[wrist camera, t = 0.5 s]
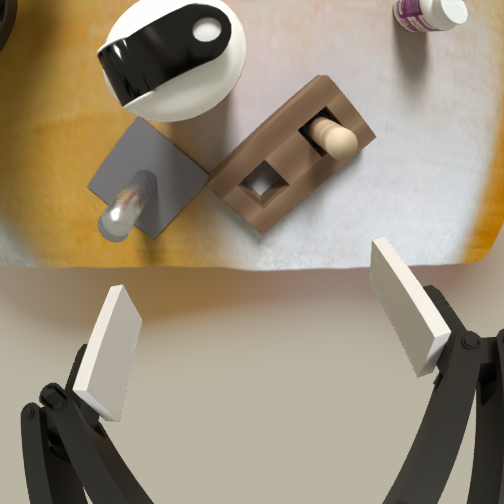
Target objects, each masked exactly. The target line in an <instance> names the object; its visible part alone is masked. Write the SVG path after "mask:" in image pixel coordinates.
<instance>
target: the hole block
mask: <svg viewBox="0 0 504 504" xmlns="http://www.w3.org/2000/svg"><path fill="white" fill-rule="evenodd" d="M322 109H323V110H324V111H325V112H326V114H327V115H328V116H329V117H330V118H331V120H332V121H333V122H335V123H337V124H339V125H341V126H342V127H344V128H346V129H348V130H350V131H351V132H353V133H354V134H355V136H356V138H357V142H358V146H357V150H356V152H355V154H354V155H353V156H352V157H354V156H355V155H356V154H357V153H358V152H359V151H361V150H362V149H363V148H364V147H365V146H367V145H368V144H369V143H370V142H371V141H372V140H374V139H375V138H376V136H375V134H374V133H373V132H372V130H371V129H370V127H369V126H368V125H367V123H366V122H365V121H364V119H363V118H362V117H361V115H360V114H359V113H358V111H357V110H356V109H355V108H354V106H353V105H352V104H351V103H350V101H349V100H348V99H347V98H346V96H345V95H344V94H343V93H342V91H341V90H340V89H339V88H338V87H337V86H336V84H335V83H334V82H333V81H332V80H331V79H330V77H329V76H327V75H318V76H316V77H315V78H314V79H313V80H311V81H310V82H309V83H308V84H307V85H305V86H304V87H303V88H302V89H301V90H300V91H298V92H297V93H296V94H295V95H294V96H292V97H291V98H290V99H289V100H288V101H287V102H286V103H284V104H283V105H282V106H281V107H280V108H279V109H278V110H276V111H275V112H274V113H273V114H272V115H271V116H270V117H269V118H268V119H266V120H265V121H264V122H263V123H262V124H261V125H260V126H259V127H258V128H257V129H256V130H254V131H253V132H252V133H251V134H250V135H249V136H248V137H247V138H246V139H245V140H244V141H243V142H242V143H241V144H240V145H239V146H238V147H236V148H235V149H234V150H233V151H232V152H231V153H230V154H229V155H228V156H227V157H226V158H225V159H224V160H223V161H222V162H221V163H220V164H219V165H218V166H217V167H216V168H215V169H214V170H213V171H212V172H211V173H210V174H209V177H208V181H207V187H208V188H209V189H210V190H212V191H213V192H214V193H215V194H216V195H217V196H219V197H220V198H221V199H222V200H223V201H224V202H225V203H227V204H228V205H229V206H230V207H231V208H232V209H234V210H235V211H236V212H237V213H238V214H239V215H240V216H242V217H243V218H244V219H245V220H246V221H247V222H248V223H250V224H251V225H252V226H253V227H254V228H255V229H256V230H258V231H259V232H260V233H261V234H264V233H265V232H266V231H267V230H268V229H269V228H271V227H272V226H273V225H274V224H275V223H276V222H277V221H279V220H280V219H281V218H282V217H283V216H284V215H286V214H287V213H288V212H289V211H290V210H291V209H293V208H294V207H295V206H296V205H297V204H298V203H300V202H301V201H302V200H303V199H304V198H305V197H307V196H308V195H309V194H310V193H311V192H312V191H314V190H315V189H316V188H317V187H318V186H320V185H321V184H322V183H323V182H324V181H325V180H327V179H328V178H329V177H330V176H331V175H332V174H334V173H335V172H336V171H337V170H338V169H339V168H341V167H342V166H343V165H344V164H345V163H347V162H348V161H349V160H350V159H351V158H352V157H350V158H349V159H346V160H338V159H335V158H333V157H332V156H331V155H330V154H329V153H328V152H326V151H325V150H324V149H323V148H322V147H321V146H320V145H317V146H316V147H315V148H313V147H312V146H311V145H310V143H309V142H308V141H307V140H306V139H305V138H304V137H303V136H302V135H301V134H300V133H299V131H298V129H299V128H301V127H302V126H303V125H304V124H305V123H306V122H308V121H309V120H310V119H311V118H312V117H313V116H315V115H316V114H317V113H318V112H319V111H320V110H322ZM264 160H265V161H267V162H268V163H269V164H270V165H271V166H272V167H273V168H274V169H275V170H276V171H277V172H278V173H279V174H280V175H281V176H282V177H281V178H280V179H278V180H277V181H276V182H275V183H274V184H273V185H272V186H271V187H269V188H268V189H267V190H266V191H265V192H264V193H263V194H262V195H261V196H260V195H259V194H258V193H257V192H256V191H254V190H253V189H252V188H251V187H250V186H249V185H248V184H247V183H246V182H245V181H244V180H243V179H244V178H245V177H246V176H247V175H249V174H250V173H251V172H252V171H253V170H254V169H255V168H256V167H257V166H258V165H259V164H260V163H262V162H263V161H264Z"/></svg>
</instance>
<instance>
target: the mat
mask: <svg viewBox="0 0 504 504" xmlns="http://www.w3.org/2000/svg"><path fill="white" fill-rule="evenodd" d="M140 170H149V171H151V172H152V173H153V174H154V175H155V176H156V178H157V186H156V188H155V190H154V191H153V193H152V195H151V196H150V198H149V200H148V201H147V203H146V205H145V206H144V208H143V210H142V211H141V213H140V215H139V217H138V218H137V220H136V222H135V224H134V225H135V226H136V227H138V228H139V229H140V230H142V231H143V232H144V233H146V234H147V235H148V236H149V237H151V238H152V239H153V240H154V239H155V238H156V237H157V236H158V234H159V233H160V232H161V231H162V230H163V229H164V228H165V227H166V226H167V225H168V223H169V222H170V221H171V220H172V219H173V218H174V217H175V216H176V215H177V214H178V213H179V212H180V211H181V210H182V208H183V207H184V206H185V205H186V204H187V203H188V202H189V201H190V200H191V199H192V198H193V197H194V196H195V195H196V194H197V193H198V192H199V191H200V190H201V189H202V188H203V187H204V186H205V185H206V184H207V181H208V177H209V174H208V173H206V172H205V171H204V170H203V169H202V168H201V167H200V166H198V165H197V164H196V163H195V162H194V161H193V160H191V159H190V158H189V157H188V156H187V155H186V154H184V153H183V152H182V151H181V150H180V149H179V148H177V147H176V146H175V145H174V144H173V143H172V142H170V141H169V140H168V139H167V138H166V137H165V136H163V135H162V134H161V133H160V132H159V131H157V130H156V129H155V128H154V127H153V126H151V125H150V124H149V123H148V122H147V121H146V120H144V119H143V118H142V117H139V116H138V117H137V118H136V119H135V121H134V122H133V123H132V124H131V126H130V127H129V128H128V130H127V131H126V132H125V133H124V135H123V136H122V137H121V139H120V140H119V141H118V143H117V144H116V145H115V147H114V148H113V150H112V151H111V152H110V154H109V155H108V156H107V158H106V159H105V161H104V162H103V164H102V165H101V167H100V168H99V169H98V171H97V172H96V174H95V175H94V177H93V178H92V180H91V182H90V183H89V185H88V186H87V187H88V188H89V189H90V190H91V191H92V192H94V193H95V194H96V195H97V196H99V197H100V198H101V199H102V200H104V201H105V202H106V203H107V204H109V205H110V204H111V203H112V201H113V200H114V199H115V198H116V196H117V195H118V194H119V193H120V192H121V190H122V189H123V188H124V187H125V186H126V184H127V183H128V182H129V181H130V180H131V179H132V177H133V176H134V175H135V174H136V173H137V172H138V171H140Z"/></svg>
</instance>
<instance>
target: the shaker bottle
mask: <svg viewBox="0 0 504 504" xmlns="http://www.w3.org/2000/svg"><path fill="white" fill-rule="evenodd" d="M97 57H98V59H99V61H100V63H101V65H102V67H103V72H104V78H105V81H106V83H107V86H108V89H109V90H110V92H111V93H112V95H113V96H114V98H115V99H116V100H117V101H118V102H119V103H120V104H121V106H122V107H123V109H127V110H128V111H130V112H131V113H133V114H134V115H137V116H139V117H142V118H144V119H147V120H153V121H158V122H175V121H181V120H187V119H190V118H193V117H195V116H198V115H201V114H203V113H204V112H206V111H208V110H210V109H212V108H213V107H214V106H216V105H217V104H218V103H219V102H221V101H222V100H223V99H224V98H225V97H226V96H227V95H228V94H229V92H230V91H231V90H232V89H233V88H234V86H235V85H236V83H237V81H238V79H239V78H240V76H241V73H242V70H243V67H244V64H245V57H246V40H245V34H244V31H243V28H242V25H241V23H240V21H239V20H238V18H237V17H236V15H235V14H234V12H233V11H232V10H231V9H230V8H229V7H228V6H227V5H226V4H225V3H223V2H222V1H220V0H140V1H139V2H137V3H136V4H134V5H133V6H131V7H130V8H129V9H128V10H127V11H126V12H125V13H124V14H123V15H122V16H121V17H120V18H119V19H118V21H117V22H116V23H115V25H114V26H113V28H112V30H111V32H110V34H109V36H108V38H107V40H106V44H104V45H103V46H102V47H101V48H100V49H99V50H98V52H97Z"/></svg>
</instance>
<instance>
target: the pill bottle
mask: <svg viewBox="0 0 504 504" xmlns="http://www.w3.org/2000/svg"><path fill="white" fill-rule="evenodd" d="M393 11H394V15H395V17H396V19H397V21H398V22H399V23H400V24H401V25H402V26H403V27H404V28H405V29H407V30H409V31H411V32H430V31H447V30H451V29H453V28H454V27H455V26H456V25H459V24H463V23H465V22H466V20H467V15H468V14H467V9H466V6H465V4H464V2H463V1H462V0H396V1H395V3H394V7H393Z"/></svg>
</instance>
